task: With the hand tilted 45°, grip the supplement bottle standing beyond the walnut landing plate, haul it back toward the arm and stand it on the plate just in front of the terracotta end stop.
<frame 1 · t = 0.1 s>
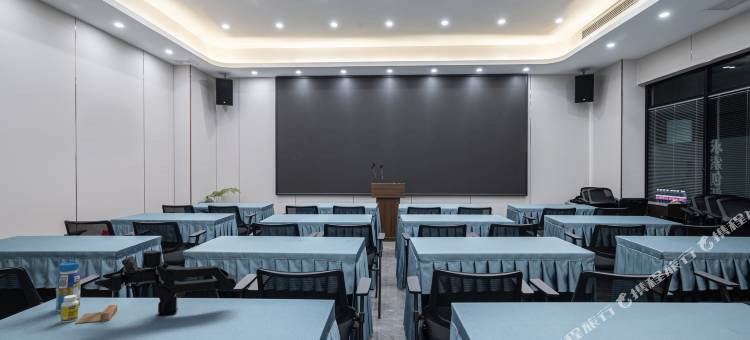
hand: (98, 279, 148), 17 cm above the table, tool horizontal, fingers open, 9 cm apart
supplement bottle: (69, 320, 147), on the table
end stop: (93, 317, 150), on the table
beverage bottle: (68, 309, 159), on the table
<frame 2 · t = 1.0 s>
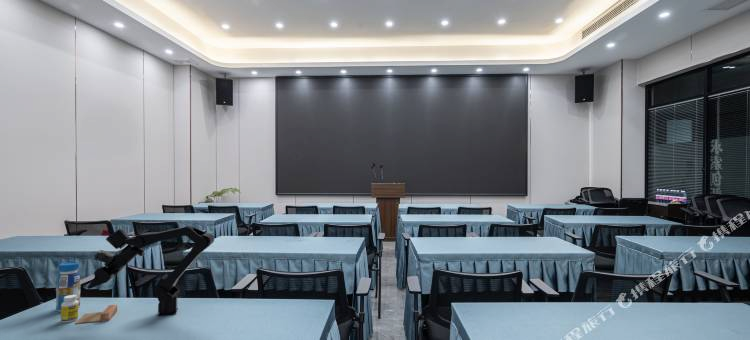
hand: (92, 284, 149), 14 cm above the table, tool tilted 45°, fingers open, 9 cm apart
nothing on the table moved.
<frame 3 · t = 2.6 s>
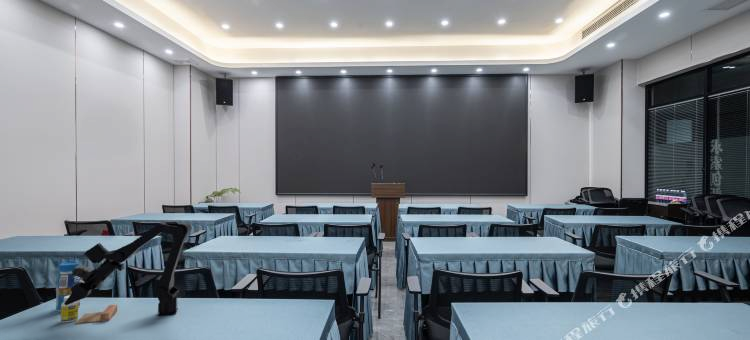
hand: (70, 300, 147), 8 cm above the table, tool tilted 45°, fingers open, 9 cm apart
nothing on the table moved.
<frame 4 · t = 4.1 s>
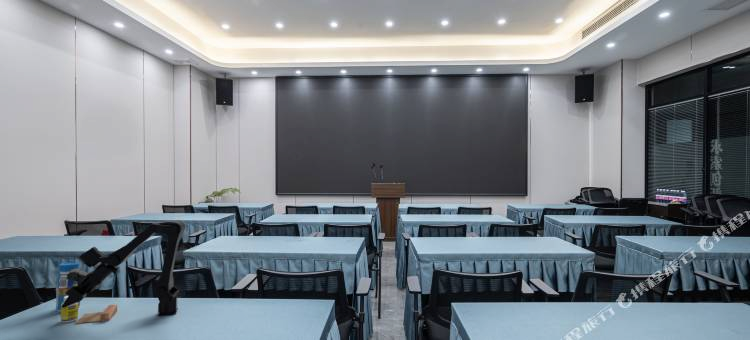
hand: (65, 304, 146), 7 cm above the table, tool tilted 45°, fingers closed on supplement bottle, 5 cm apart
supplement bottle: (69, 320, 147), on the table, touching gripper
everything else where it was.
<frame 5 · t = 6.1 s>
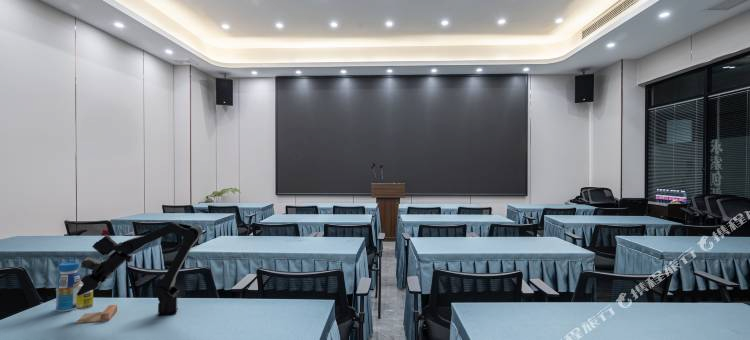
hand: (80, 292, 148), 11 cm above the table, tool tilted 45°, fingers closed on supplement bottle, 5 cm apart
supplement bottle: (84, 308, 149), point 4 cm above the table, touching gripper
everything else where it was.
when the fingers open (8 cm above the table, at t = 8.2 s): supplement bottle stays where it is, resting on end stop.
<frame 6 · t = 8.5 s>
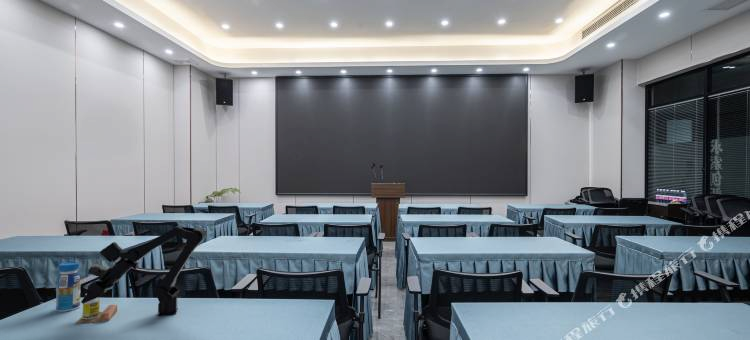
hand: (86, 298, 149), 8 cm above the table, tool tilted 45°, fingers open, 9 cm apart
supplement bottle: (91, 317, 149), resting on end stop
everything else where it was.
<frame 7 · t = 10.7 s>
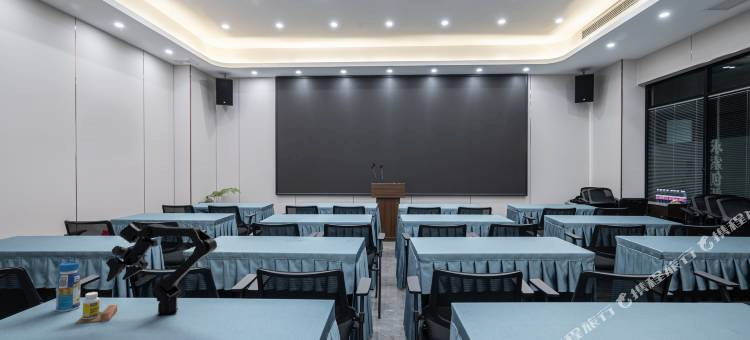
hand: (115, 280, 154), 14 cm above the table, tool tilted 35°, fingers open, 9 cm apart
nothing on the table moved.
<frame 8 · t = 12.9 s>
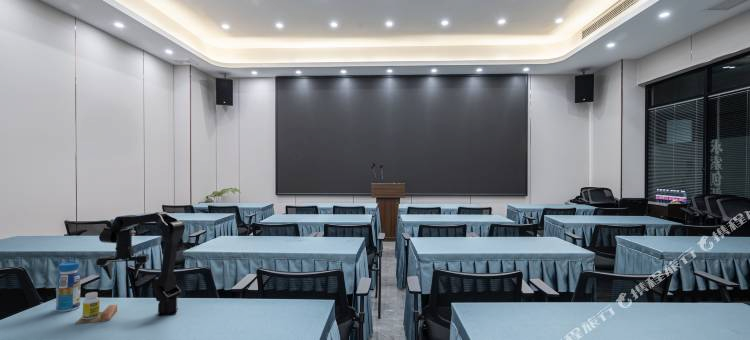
hand: (123, 278, 161), 13 cm above the table, tool pointing down, fingers open, 9 cm apart
nothing on the table moved.
at the end: supplement bottle inside the target area (0.2 cm from its centre), resting on end stop; supplement bottle tilted 0°; the gripper is holding nothing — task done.
